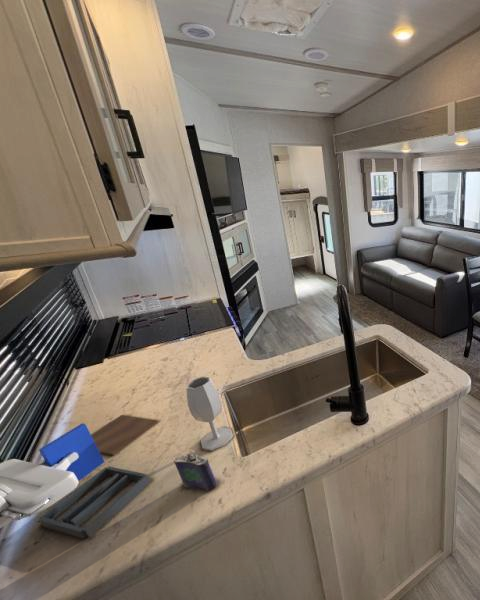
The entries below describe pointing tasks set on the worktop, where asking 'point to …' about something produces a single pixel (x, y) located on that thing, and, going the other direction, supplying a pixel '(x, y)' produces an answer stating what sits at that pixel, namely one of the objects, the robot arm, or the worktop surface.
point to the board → (120, 433)
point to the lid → (78, 443)
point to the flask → (195, 471)
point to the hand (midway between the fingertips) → (71, 453)
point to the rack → (94, 502)
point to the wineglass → (207, 411)
